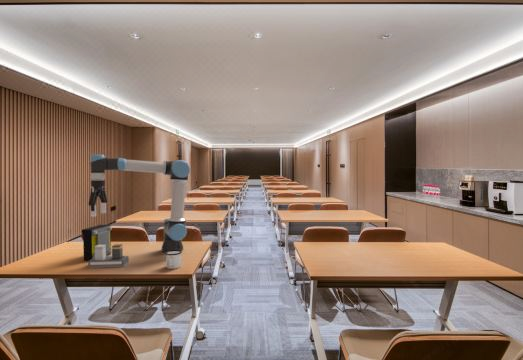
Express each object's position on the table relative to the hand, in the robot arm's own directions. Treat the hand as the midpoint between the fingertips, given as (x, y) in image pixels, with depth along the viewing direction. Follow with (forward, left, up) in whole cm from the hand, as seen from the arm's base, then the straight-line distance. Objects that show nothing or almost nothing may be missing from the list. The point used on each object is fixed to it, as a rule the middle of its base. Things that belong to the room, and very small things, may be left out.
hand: (98, 214), depth 186 cm
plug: (-11, +1, -30) cm, 32 cm away
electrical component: (+8, -17, -31) cm, 36 cm away
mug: (-46, +10, -31) cm, 56 cm away
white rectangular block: (-1, +1, -30) cm, 30 cm away
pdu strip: (-6, +1, -31) cm, 31 cm away
